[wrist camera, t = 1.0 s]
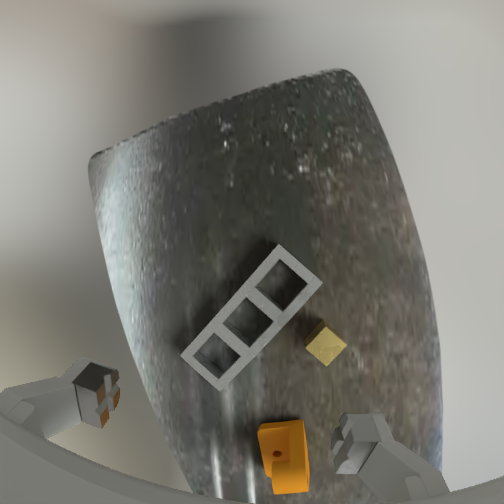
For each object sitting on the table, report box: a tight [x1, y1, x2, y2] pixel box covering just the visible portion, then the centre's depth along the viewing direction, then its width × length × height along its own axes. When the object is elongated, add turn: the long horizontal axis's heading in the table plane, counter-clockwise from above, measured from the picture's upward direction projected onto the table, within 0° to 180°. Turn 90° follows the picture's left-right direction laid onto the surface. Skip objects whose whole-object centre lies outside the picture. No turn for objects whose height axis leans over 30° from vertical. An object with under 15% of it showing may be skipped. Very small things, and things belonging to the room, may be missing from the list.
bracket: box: [257, 419, 309, 494], centre depth 39 cm, size 11×7×12 cm, turn 10°
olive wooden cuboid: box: [304, 320, 347, 366], centre depth 42 cm, size 4×4×5 cm
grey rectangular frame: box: [180, 244, 322, 391], centre depth 44 cm, size 8×22×3 cm, turn 139°
